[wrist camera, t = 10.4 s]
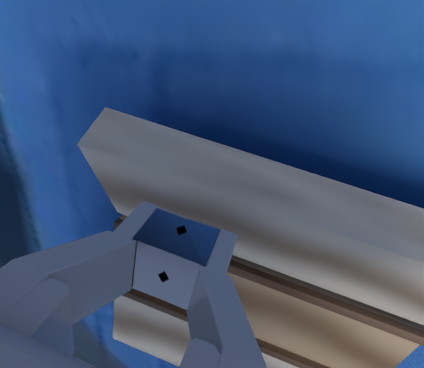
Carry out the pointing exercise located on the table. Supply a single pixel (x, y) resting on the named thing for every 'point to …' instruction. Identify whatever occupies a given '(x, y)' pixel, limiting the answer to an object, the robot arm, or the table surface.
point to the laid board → (309, 321)
